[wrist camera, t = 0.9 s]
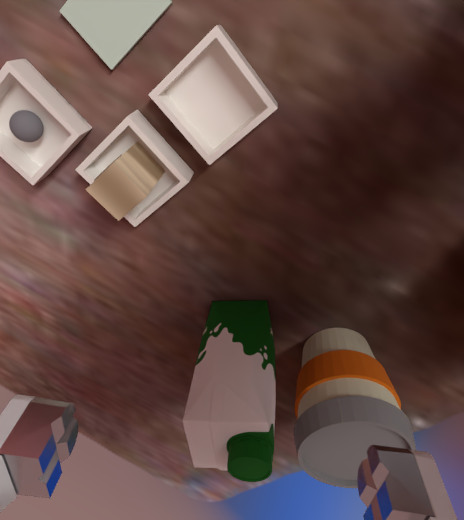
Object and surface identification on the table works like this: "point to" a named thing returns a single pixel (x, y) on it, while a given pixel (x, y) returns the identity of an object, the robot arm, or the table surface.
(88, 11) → the pad
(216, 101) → the white open square tray
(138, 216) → the white square cubby
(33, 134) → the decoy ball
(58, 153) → the white square open box
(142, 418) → the table surface
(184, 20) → the table surface
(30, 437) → the robot arm
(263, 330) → the milk carton
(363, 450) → the reusable coffee cup
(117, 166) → the tan tall block
